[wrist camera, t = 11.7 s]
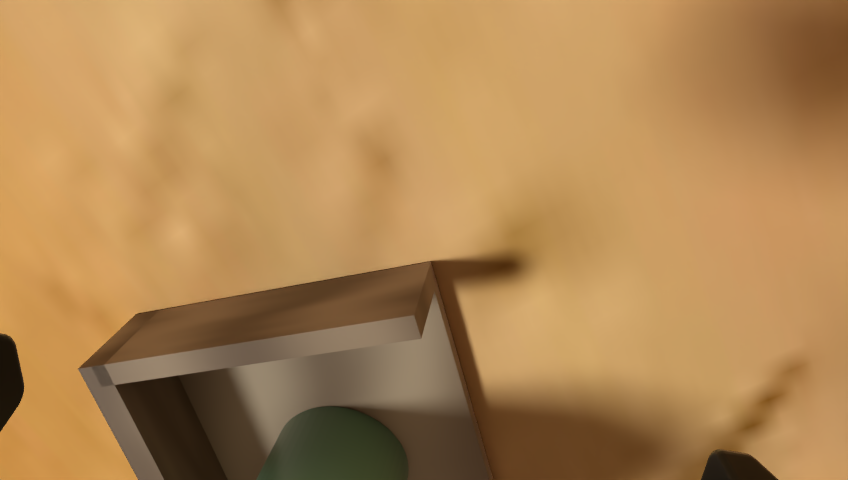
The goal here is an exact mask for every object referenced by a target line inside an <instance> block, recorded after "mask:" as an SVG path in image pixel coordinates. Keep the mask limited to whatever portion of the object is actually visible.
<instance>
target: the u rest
mask: <svg viewBox="0 0 848 480" xmlns="http://www.w3.org/2000/svg"><path fill="white" fill-rule="evenodd" d="M78 369H79V371H80V373H81V375H82V377H83V379H84V381H85V382H86V384H87V386H88V388H89V390H90V392H91V393H92V395H93V397H94V399H95V401H96V403H97V405H98V406H99V408H100V410H101V412H102V414H103V416H104V417H105V419H106V421H107V423H108V425H109V427H110V428H111V430H112V432H113V434H114V436H115V438H116V440H117V441H118V443H119V445H120V447H121V449H122V451H123V452H124V454H125V456H126V458H127V460H128V462H129V464H130V465H131V467H132V469H133V471H134V473H135V475H136V476H137V478H138V480H256V479H257V477H258V475H259V473H260V471H261V469H262V467H263V465H264V464H265V462H266V460H267V458H268V456H269V454H270V452H271V450H272V448H273V446H274V444H275V442H276V440H277V438H278V436H279V434H280V433H281V431H282V429H283V427H284V426H285V425H286V423H287V422H288V421H289V420H291V419H292V418H293V417H294V416H296V415H297V414H299V413H301V412H304V411H306V410H309V409H312V408H318V407H327V406H332V407H343V408H348V409H352V410H356V411H359V412H361V413H364V414H366V415H368V416H370V417H372V418H374V419H376V420H377V421H379V422H380V423H382V424H383V425H384V426H385V427H387V428H388V429H389V430H390V431H391V432H392V433H393V434H394V435H395V436H396V438H397V439H398V440H399V442H400V443H401V445H402V447H403V449H404V451H405V453H406V456H407V460H408V467H409V471H408V478H407V480H493V477H492V473H491V470H490V466H489V463H488V459H487V456H486V452H485V449H484V445H483V442H482V438H481V435H480V431H479V428H478V424H477V421H476V417H475V414H474V410H473V407H472V403H471V400H470V396H469V393H468V389H467V386H466V383H465V379H464V376H463V372H462V369H461V365H460V362H459V358H458V355H457V351H456V348H455V344H454V341H453V337H452V334H451V330H450V327H449V323H448V320H447V316H446V313H445V309H444V306H443V302H442V299H441V295H440V292H439V288H438V285H437V281H436V278H435V274H434V271H433V267H432V264H431V262H425V263H420V264H414V265H409V266H403V267H397V268H392V269H386V270H381V271H375V272H369V273H364V274H358V275H353V276H347V277H341V278H336V279H330V280H325V281H319V282H313V283H308V284H302V285H297V286H291V287H285V288H280V289H274V290H269V291H263V292H258V293H252V294H246V295H241V296H235V297H230V298H224V299H218V300H213V301H207V302H202V303H196V304H190V305H185V306H179V307H174V308H168V309H162V310H157V311H151V312H146V313H140V314H136V315H135V316H134V317H133V318H132V319H130V320H129V321H128V322H127V323H126V324H125V325H124V326H123V327H122V328H121V329H120V330H119V331H118V332H117V333H116V334H115V335H114V336H112V337H111V338H110V339H109V340H108V341H107V342H106V343H105V344H104V345H103V346H102V347H101V348H100V349H99V350H98V351H97V352H95V353H94V354H93V355H92V356H91V357H90V358H89V359H88V360H87V361H86V362H85V363H84V364H83V365H82V366H81V367H80V368H78Z"/></svg>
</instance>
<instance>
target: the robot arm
mask: <svg viewBox="0 0 848 480" xmlns="http://www.w3.org/2000/svg"><path fill="white" fill-rule="evenodd" d="M23 392H24V382H23V377H22V372H21V367H20V363H19V358H18V353H17V349H16V345H15V342H14V341H13V339H12V338H11V337H10V336H8V335H6V334H1V333H0V431H1V430H2V428H3V427H4V426H5V424H6V423H7V421H8V420H9V418H10V417H11V415H12V414H13V412H14V411H15V410H16V408H17V407H18V405H19V403H20V401H21V399H22V396H23ZM701 480H778V479H777V478H776V477H775V476H774V475H773V474H772V473H770V472H769V471H768V470H767V469H766V468H765V467H764V466H763V465H762V464H761V463H760V462H758V461H757V460H756V459H755V458H754V457H752V456H751V455H749V454H745V453H740V452H734V451H727V450H721V449H718V450H715V451H713V452H712V453H711V455H710V456H709V458H708V461H707V464H706V467H705V470H704V472H703V475H702V478H701Z"/></svg>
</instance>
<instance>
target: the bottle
mask: <svg viewBox="0 0 848 480" xmlns="http://www.w3.org/2000/svg"><path fill="white" fill-rule="evenodd" d="M408 471H409V467H408V460H407V456H406V453H405V451H404V449H403V447H402V445H401V443H400V442H399V440H398V439H397V438H396V436H395V435H394V434H393V433H392V432H391V431H390V430H389V429H388V428H387V427H385V426H384V425H383V424H382V423H380V422H379V421H377V420H376V419H374V418H372V417H370V416H368V415H366V414H364V413H361V412H359V411H356V410H352V409H348V408H343V407H332V406H327V407H318V408H312V409H309V410H306V411H304V412H301V413H299V414H297V415H296V416H294V417H293V418H292V419H291V420H289V421H288V422H287V423H286V425H285V426H284V427H283V429H282V431H281V433H280V434H279V436H278V438H277V440H276V442H275V444H274V446H273V448H272V450H271V452H270V454H269V456H268V458H267V460H266V462H265V464H264V465H263V467H262V469H261V471H260V473H259V475H258V477H257V479H256V480H407V478H408Z"/></svg>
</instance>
